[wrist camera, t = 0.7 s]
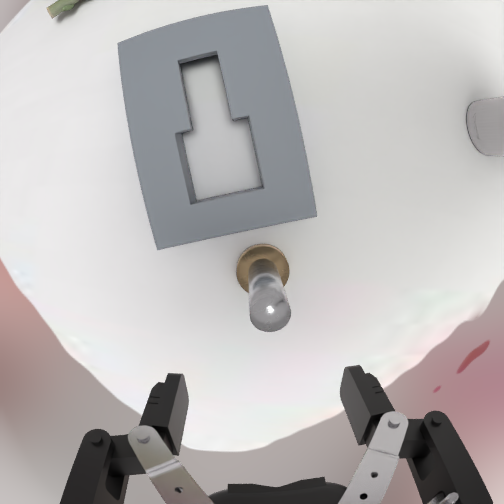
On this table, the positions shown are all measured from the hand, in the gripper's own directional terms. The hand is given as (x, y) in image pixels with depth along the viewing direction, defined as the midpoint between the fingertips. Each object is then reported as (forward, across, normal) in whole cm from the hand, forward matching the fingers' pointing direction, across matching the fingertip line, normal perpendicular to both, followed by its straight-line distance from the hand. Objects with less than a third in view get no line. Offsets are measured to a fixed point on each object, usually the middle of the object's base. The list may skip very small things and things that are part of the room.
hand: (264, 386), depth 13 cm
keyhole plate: (+23, +4, -16) cm, 29 cm away
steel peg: (+24, -1, +2) cm, 24 cm away
